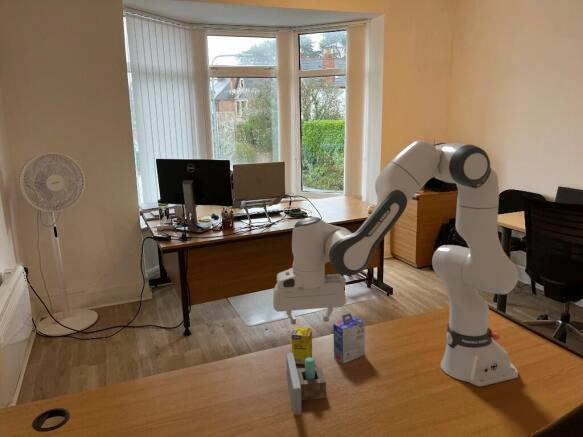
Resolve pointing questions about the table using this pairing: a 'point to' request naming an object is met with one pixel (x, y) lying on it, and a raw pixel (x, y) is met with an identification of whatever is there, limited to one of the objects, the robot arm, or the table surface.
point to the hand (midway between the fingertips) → (309, 322)
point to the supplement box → (301, 344)
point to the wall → (293, 384)
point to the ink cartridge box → (349, 339)
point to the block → (312, 385)
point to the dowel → (309, 369)
